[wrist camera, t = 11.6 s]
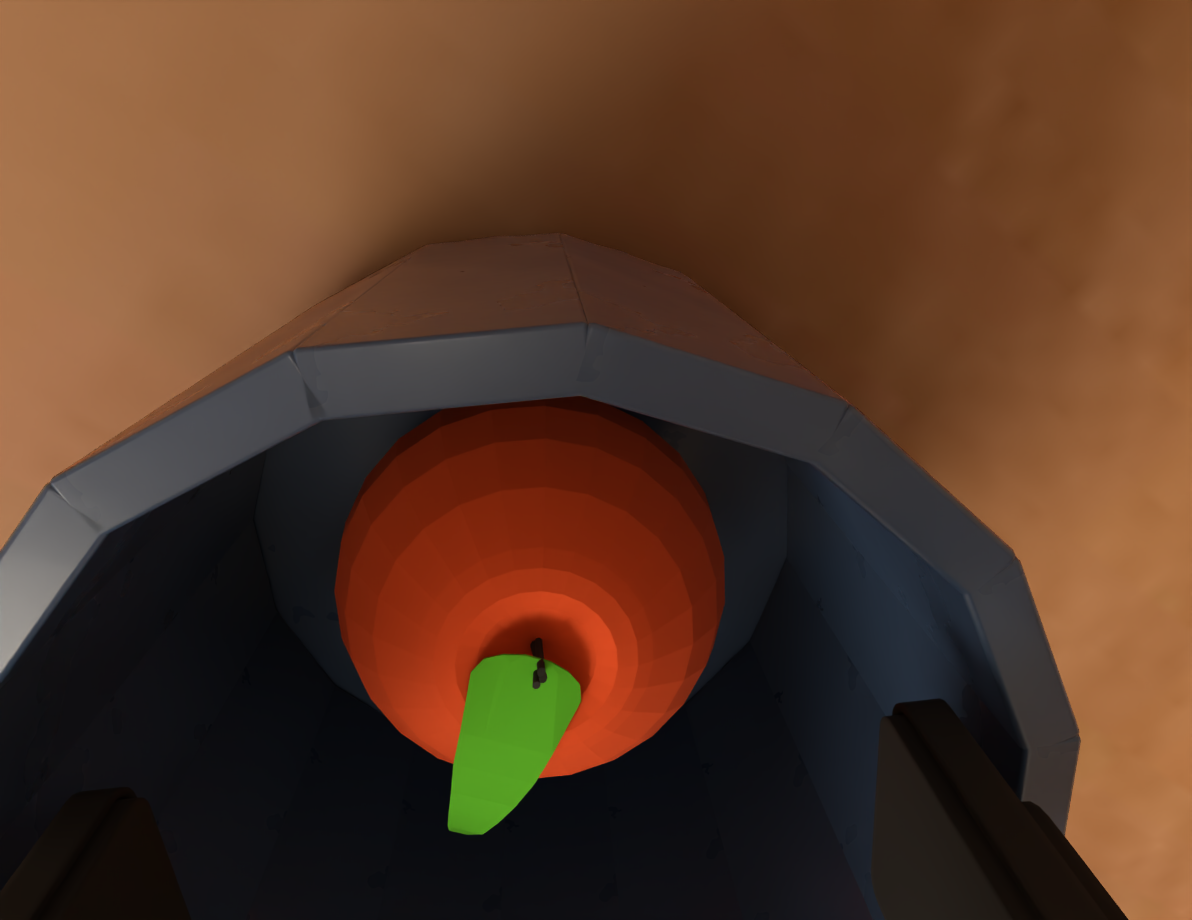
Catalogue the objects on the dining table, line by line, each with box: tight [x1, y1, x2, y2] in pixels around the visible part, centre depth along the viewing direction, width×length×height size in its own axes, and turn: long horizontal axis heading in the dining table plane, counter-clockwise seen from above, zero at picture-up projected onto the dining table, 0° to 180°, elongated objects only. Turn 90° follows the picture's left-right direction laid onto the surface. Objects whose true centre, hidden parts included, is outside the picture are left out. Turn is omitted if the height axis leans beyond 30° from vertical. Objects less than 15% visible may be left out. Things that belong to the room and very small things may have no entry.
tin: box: [0, 233, 1081, 920], centre depth 14 cm, size 13×13×10 cm
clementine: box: [334, 396, 725, 835], centre depth 15 cm, size 8×7×7 cm
